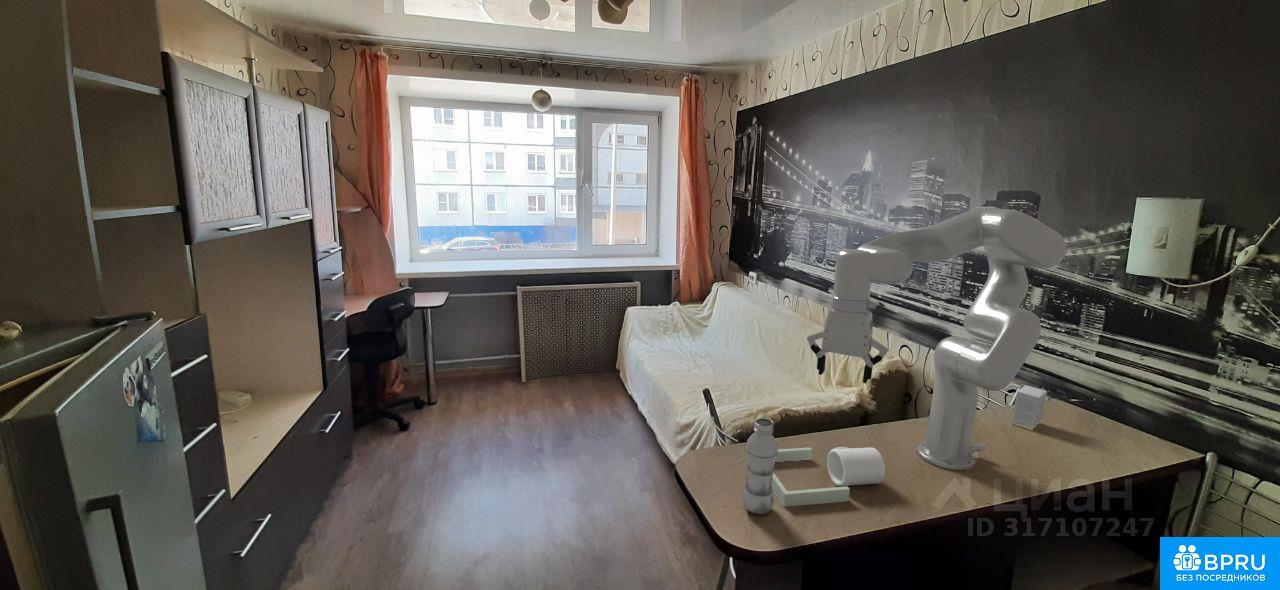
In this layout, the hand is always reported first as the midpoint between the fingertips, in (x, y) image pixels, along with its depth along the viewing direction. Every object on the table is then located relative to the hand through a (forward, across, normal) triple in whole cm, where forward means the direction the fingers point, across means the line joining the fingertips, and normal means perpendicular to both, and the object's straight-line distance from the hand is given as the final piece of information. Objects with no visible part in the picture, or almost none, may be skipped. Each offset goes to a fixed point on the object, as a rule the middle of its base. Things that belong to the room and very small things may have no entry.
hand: (843, 377), depth 121 cm
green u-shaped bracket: (+24, +6, +9) cm, 26 cm away
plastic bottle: (+24, +11, +24) cm, 36 cm away
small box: (+26, -42, -58) cm, 76 cm away
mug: (+24, -4, 0) cm, 25 cm away
